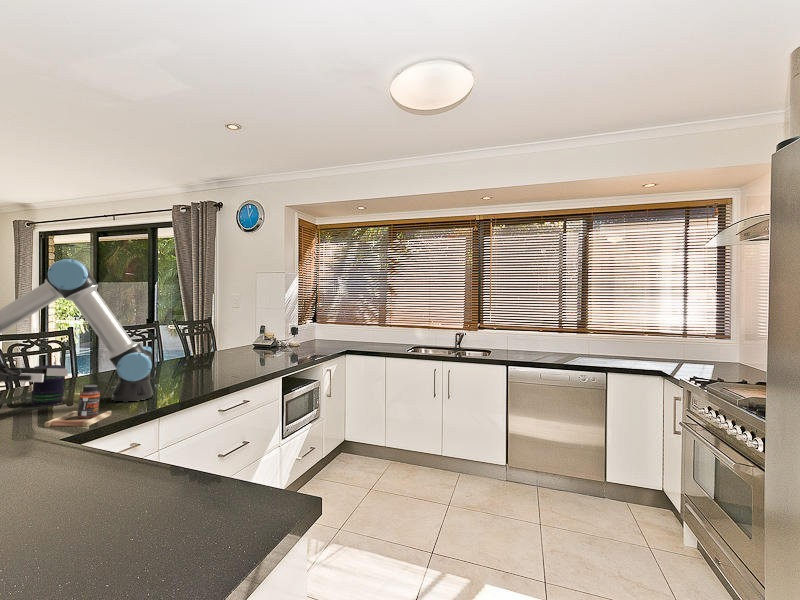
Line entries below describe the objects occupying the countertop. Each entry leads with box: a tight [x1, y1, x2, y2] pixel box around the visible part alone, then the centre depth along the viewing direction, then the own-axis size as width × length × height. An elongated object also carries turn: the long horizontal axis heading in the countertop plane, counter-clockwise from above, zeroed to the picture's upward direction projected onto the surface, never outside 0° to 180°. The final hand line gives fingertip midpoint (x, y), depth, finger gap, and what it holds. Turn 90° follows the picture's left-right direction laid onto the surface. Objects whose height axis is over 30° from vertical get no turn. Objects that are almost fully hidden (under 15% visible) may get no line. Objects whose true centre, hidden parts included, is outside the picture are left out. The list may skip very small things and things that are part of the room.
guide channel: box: [43, 410, 112, 428], centre depth 140 cm, size 16×12×1 cm
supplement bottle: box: [77, 384, 101, 420], centre depth 145 cm, size 6×6×11 cm
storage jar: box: [30, 364, 66, 407], centre depth 161 cm, size 10×10×15 cm
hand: (55, 375), depth 143 cm, fingers open, 13 cm apart
